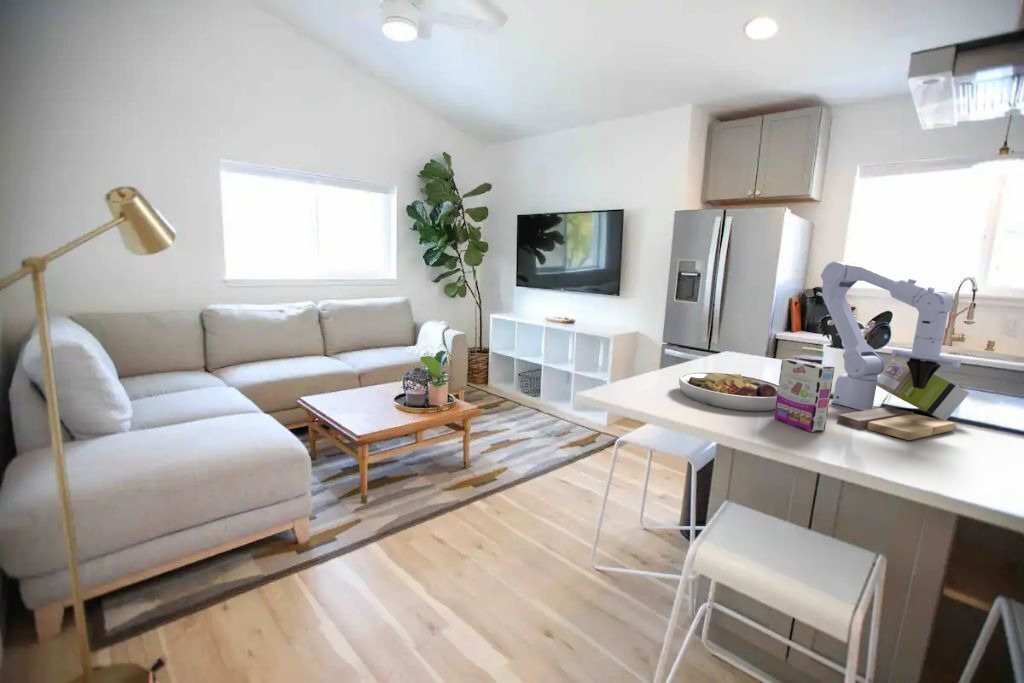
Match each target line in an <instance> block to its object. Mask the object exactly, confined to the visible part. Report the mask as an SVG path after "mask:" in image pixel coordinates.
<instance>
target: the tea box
mask: <svg viewBox="0 0 1024 683" xmlns="http://www.w3.org/2000/svg"><path fill="white" fill-rule="evenodd" d="M876 387H879V388H880V389H882V390H883V391H885V392H888V393H889V394H891V395H893V396H895V397H897V398H898V399H900V400H902V401H904V402H906V403H907V404H909V405H912V406H913V407H916V409H917V408H918V409H919V410H921V411H924V412H925V413H927V414H929V415H931V416H933V417H934V418H936V419H941V420H945V421H948V419H949V418H950V416H951V415H952V414H953V413H954V412H955V410H957V408H958V407H959V406H960V405H961V404H962V402H963V401H964V400H965V399H966V398H967V396H968V395H969V394H970V392H969V391H968V390H966V389H965V388H962V387H960V386H958V385H957V384H954V383H952V382H950V381H949V380H947V379H945V378H942V377H941V376H939V375H936V374H935V373H934V374H933V375H932V377H931V378H930V380H929V381H928V383H927V385H926V387H925V389H919V388H914V387H913V380H912V375H911V372H910V369H909V367H908V365H907V361H905V360H902V359H900V358H898V357H892V358H891V359H890V360H889V362H888V364H886V365H885V368H884V370H883V372H882V373H880V374H878V379H877V385H876Z"/></svg>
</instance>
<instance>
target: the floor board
mask: <svg viewBox="0 0 1024 683" xmlns="http://www.w3.org/2000/svg"><path fill="white" fill-rule="evenodd" d="M909 414H914V411H913V410H909V411H908V410H904V409H901V408H896V407H893V406H890V405H889V406H883V407H879V408H876V409H870V410H864V411H861V410H859V411H853V412H852V411H851V412H846V413H841V414H840V413H839V414H838V415H837V420H836V423H839V424H844V425H846V426H849V427H852V428H856V429H859V430H865V429H866V430H867V429H868V422H871V421H877V420H882V419H888V418H893V417H898V416H904V415H909Z"/></svg>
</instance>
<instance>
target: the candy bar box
mask: <svg viewBox="0 0 1024 683" xmlns="http://www.w3.org/2000/svg"><path fill="white" fill-rule="evenodd" d="M834 374H835V367H834V366H831V365H825V364H822V363H817V362H811V361H807V360H802V359H797V358H782V359H781V365H780V373H779V378H778V379H779V380H778V385H779V386H778V393H777V400H776V407H775V409H774V413H773V414H774V416H773V418H774V420H776V421H778V422H782V423H784V424H787V425H790V426H792V427H795V428H799V429H801V430H804V431H805V432H809V433H820V432H826V424H827V420H828V411H829V405H830V398H831V392H832V386H833V382H834Z"/></svg>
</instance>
